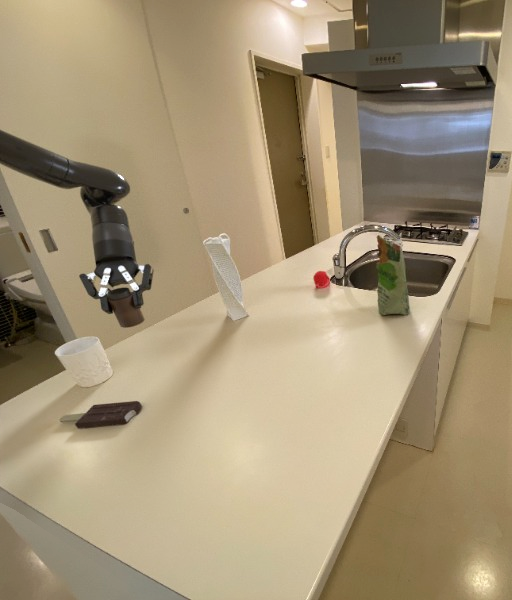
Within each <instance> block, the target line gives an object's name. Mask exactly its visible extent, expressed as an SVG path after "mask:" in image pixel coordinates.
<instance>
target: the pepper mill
mask: <svg viewBox="0 0 512 600" xmlns="http://www.w3.org/2000/svg"><path fill="white" fill-rule="evenodd" d="M132 292H133V291H131V290H130V288H129V287H125V286H124V287H117V288H114V290H111V291H109V292H108V293H107V294H108V296H109V298H108V302H109V304H110V306H111V308H112V310H113V314H114V316H115V318H116V320H117V322H118V324H119V326H120V328H124V329H126V328H133V327H136V326H138V325H140V324H142V323H144V322H145V319H146V318H145V316H144V314H143V311H142V310H141V309H142V308H139V309H137V308H136V307H135V306H134V301H133V295H132Z"/></svg>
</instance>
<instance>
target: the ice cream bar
mask: <svg viewBox="0 0 512 600" xmlns="http://www.w3.org/2000/svg"><path fill="white" fill-rule="evenodd" d="M142 408H143V406H142V404H141V402H140V401H138V400H131V401H119V402H110V403H109V402H108V403H98V404H93V405H92V406H90V408H89V409H88V410H87V411H86V412H83V413H82V412H81V413H70V414H64V415H63V416H61V417H60V418H59V419H58V420H59V422H60V423H70V422H71V423H73V422H75V424H74V425H75V427H76V428H77V429H78V430H79V429H81V430H82V429H90V428H101V427H112V426H121V425H122V426H123V425H126V424H127V423H128V422H129V421H130V420H131V419H132V418H133V417H135V416H137V415H139V413H140V412H141V410H142Z"/></svg>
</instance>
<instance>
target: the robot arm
mask: <svg viewBox="0 0 512 600" xmlns="http://www.w3.org/2000/svg"><path fill="white" fill-rule="evenodd" d="M0 165H2V166H4V167H6V168H8V169H10V170H11V171H14V172H16V173H19V174H22V175H24V176H27V177H28V178H32V179H34V180H38V181H39V182H42V183H46V184H48V185H51V186H53V187H57V188H60V189H64V190H73V189H76V188H77V189H78V188H80V189H79V196H80V199H81V201H82V203H83V205H84V207H85V208H86V210H87V213H88V214H89V216H90V222H91V229H92V230H91V231H92V232H91V240H92V248H93V255H94V263H95V269H94V271H93V272H90V273H87V274H86V273H80V274H79V275H78V277H79V279H80V281H81V283H82V285H83V287H84V289H85V291H86V293H87V295H88V296H89V297H91V298H92V299H94V300H99V301H100V309H101V310H102V311H103V312H104V313H105V314H107V315H112V314H114V312H113V310H112V308H111V306H110V304H109V302H108V298H109V296H108V294H107V293H108V292H109V291H111V290H114V289H115V288H116V287H118V286H120V285H129V286H130V288H131V289H132V290H133V291H131V292H132V295H133V301H134V306H135V307H136V308H137V309H139V308H140V309H142V307H143V306H144V305H145V301H144V296H143V293H144V292H145V291H150V290H151V289H152V285H153V277H154V271H155V269H154V268H153V267H152V265H150V263H146V264H144V265H139V263H137V257H136V251H135V242H134V239H133V235H132V232H131V228H130V223H129V217H128V214H127V212H126V210H124V209H123V207H121V206H119V205H116V204H118V203H119V202H121V201H122V200H123V199H125V198H126V197H128V196H129V194H130V192H131V185H130V184H129V181H127V179H125V177H124V176H122V175H121V174H119V173H118V172H116V171H115V170H112V169H109V168H106V167H102V166H98V165H94V164H90V163H85V162H81V161H75V160H72V159H71V158H68V157H66V156H63V155H60V154H59V153H57V152H54V151H51V150H50V149H47V148H45V147H43V146H40V145H37V144H35V143H33V142H30V141H28V140H26V139H24V138H21V137H18V136H16V135H13V134H11V133H9V132H7V131H4V130H2V129H0ZM139 272H140V273H141V274H142V279H141V284H139V283H138V282H137V280H136V279H135V278H136V277H137V275H138V274H139ZM97 278H99V279H100V280H101V281H100V283H99V286H100V288H99V291H98V289H97V287H96V285H95V283H96V281H97V280H96V279H97Z"/></svg>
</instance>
